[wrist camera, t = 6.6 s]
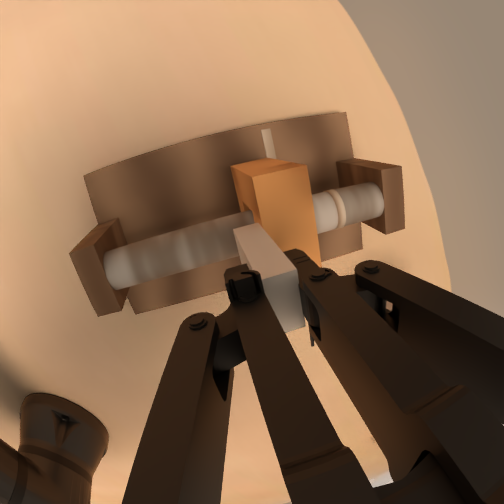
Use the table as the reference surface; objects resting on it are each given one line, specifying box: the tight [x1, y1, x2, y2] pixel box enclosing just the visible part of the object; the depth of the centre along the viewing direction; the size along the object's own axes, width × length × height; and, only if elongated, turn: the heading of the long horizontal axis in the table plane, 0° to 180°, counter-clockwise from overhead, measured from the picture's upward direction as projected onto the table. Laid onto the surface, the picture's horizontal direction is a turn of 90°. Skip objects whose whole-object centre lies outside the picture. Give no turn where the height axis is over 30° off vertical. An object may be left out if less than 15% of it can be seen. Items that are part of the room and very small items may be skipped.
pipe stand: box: [69, 112, 405, 317], centre depth 22 cm, size 24×14×8 cm, turn 102°
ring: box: [230, 158, 322, 268], centre depth 20 cm, size 3×8×8 cm, turn 12°
